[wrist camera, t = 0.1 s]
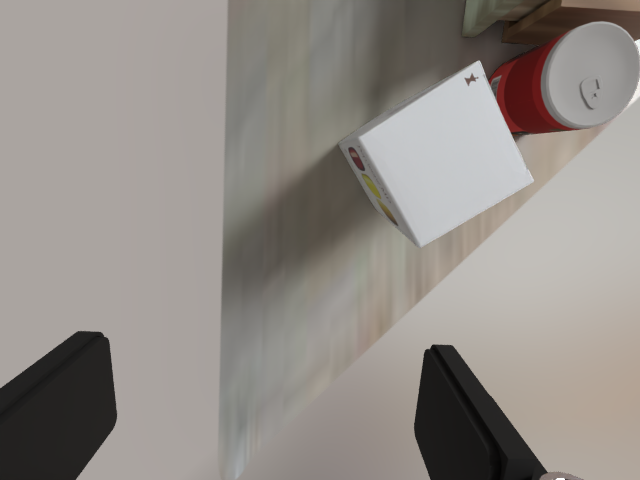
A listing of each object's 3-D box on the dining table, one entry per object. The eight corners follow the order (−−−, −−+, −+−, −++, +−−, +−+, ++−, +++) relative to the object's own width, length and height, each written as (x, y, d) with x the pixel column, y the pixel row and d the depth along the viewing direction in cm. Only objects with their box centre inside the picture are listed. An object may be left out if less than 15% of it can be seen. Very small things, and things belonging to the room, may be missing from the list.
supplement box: (335, 143, 39) (351, 132, 22) (407, 96, 37) (479, 50, 21) (377, 214, 41) (420, 252, 24) (446, 172, 39) (540, 183, 23)
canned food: (503, 150, 39) (574, 148, 28) (466, 90, 37) (527, 64, 27) (562, 106, 38) (659, 87, 27) (527, 43, 36) (615, -3, 26)
